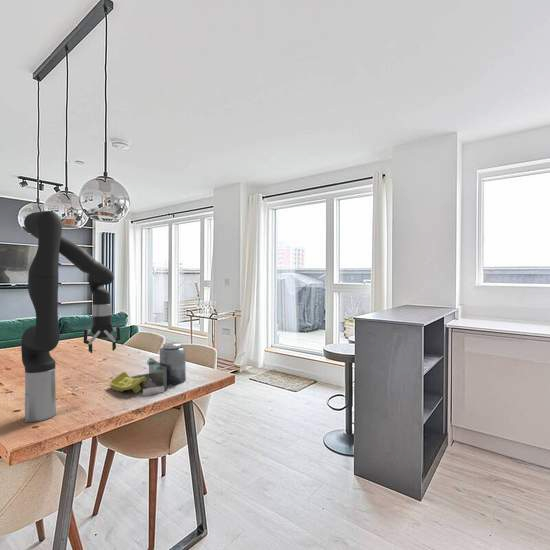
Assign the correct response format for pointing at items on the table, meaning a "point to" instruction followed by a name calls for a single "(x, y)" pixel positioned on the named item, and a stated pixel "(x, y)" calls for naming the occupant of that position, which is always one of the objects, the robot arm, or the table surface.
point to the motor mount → (166, 368)
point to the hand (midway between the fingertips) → (102, 351)
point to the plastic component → (127, 383)
